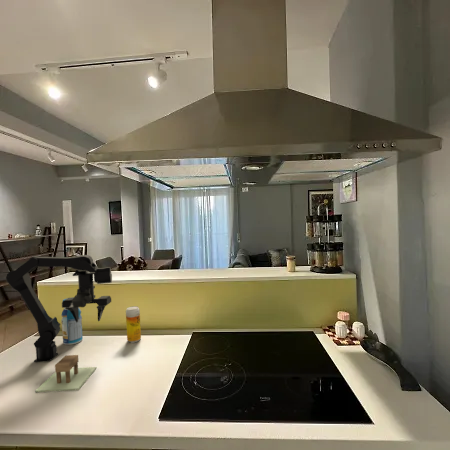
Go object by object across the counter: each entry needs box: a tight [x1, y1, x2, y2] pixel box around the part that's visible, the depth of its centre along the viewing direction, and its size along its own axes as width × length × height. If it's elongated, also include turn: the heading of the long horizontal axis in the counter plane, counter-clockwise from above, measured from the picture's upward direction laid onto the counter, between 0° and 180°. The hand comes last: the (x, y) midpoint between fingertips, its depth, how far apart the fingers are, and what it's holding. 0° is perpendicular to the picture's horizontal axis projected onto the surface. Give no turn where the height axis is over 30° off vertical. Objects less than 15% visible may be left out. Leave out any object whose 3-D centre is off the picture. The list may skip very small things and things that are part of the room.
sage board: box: [35, 366, 97, 393], centre depth 105 cm, size 14×14×1 cm
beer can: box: [125, 306, 142, 344], centre depth 137 cm, size 6×6×15 cm
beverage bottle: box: [60, 297, 84, 346], centre depth 138 cm, size 8×8×20 cm
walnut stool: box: [54, 354, 79, 384], centre depth 105 cm, size 7×4×6 cm, turn 1°
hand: (88, 321), depth 126 cm, fingers open, 9 cm apart
